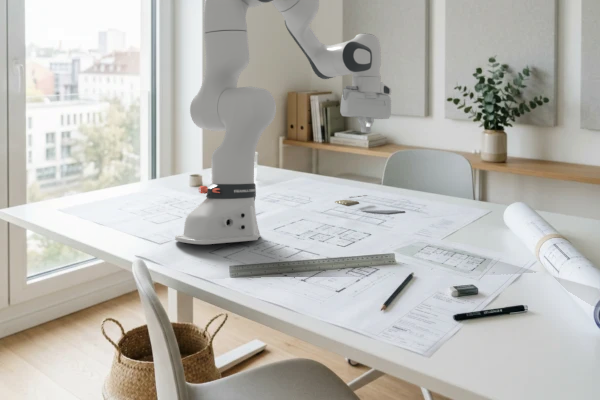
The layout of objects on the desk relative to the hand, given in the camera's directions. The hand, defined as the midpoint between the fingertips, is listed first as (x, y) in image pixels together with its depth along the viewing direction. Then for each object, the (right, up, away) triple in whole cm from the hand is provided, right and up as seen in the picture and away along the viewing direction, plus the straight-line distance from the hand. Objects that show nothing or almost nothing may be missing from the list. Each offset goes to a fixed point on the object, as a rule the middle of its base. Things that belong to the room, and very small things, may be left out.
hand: (365, 132), depth 189 cm
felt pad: (+5, -25, -1) cm, 26 cm away
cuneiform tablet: (-1, -22, +5) cm, 23 cm away
